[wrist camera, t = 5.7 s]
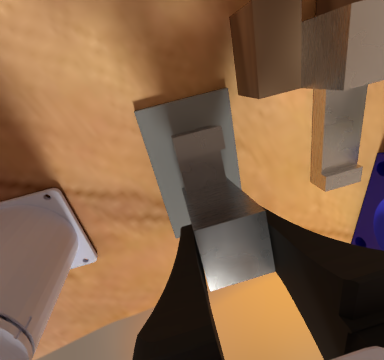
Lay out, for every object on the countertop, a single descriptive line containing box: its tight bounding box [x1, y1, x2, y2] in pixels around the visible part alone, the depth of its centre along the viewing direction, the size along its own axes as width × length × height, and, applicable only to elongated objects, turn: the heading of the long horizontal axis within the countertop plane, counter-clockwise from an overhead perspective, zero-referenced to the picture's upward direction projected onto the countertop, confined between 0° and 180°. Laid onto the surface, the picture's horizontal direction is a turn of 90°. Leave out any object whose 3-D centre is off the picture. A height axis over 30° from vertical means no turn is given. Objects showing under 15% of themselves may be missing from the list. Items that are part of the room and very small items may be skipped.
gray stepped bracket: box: [171, 125, 275, 291], centre depth 13 cm, size 4×8×7 cm, turn 13°
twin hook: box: [301, 0, 384, 192], centre depth 15 cm, size 7×13×7 cm, turn 13°
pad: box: [134, 88, 241, 238], centre depth 19 cm, size 7×12×1 cm, turn 13°
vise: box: [230, 0, 363, 99], centre depth 15 cm, size 14×5×4 cm, turn 103°
